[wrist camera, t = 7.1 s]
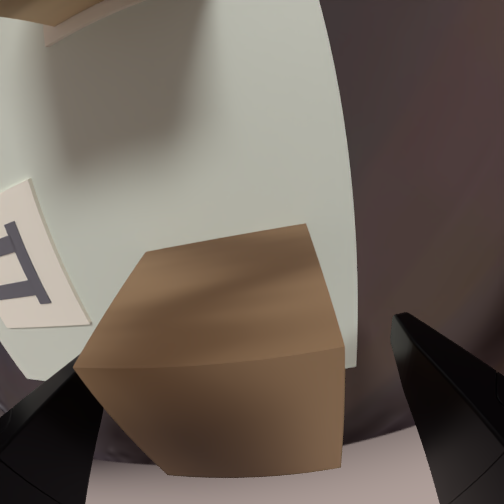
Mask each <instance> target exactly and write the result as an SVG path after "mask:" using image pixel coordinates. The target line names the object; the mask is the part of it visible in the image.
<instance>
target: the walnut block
mask: <svg viewBox="0 0 504 504" xmlns="http://www.w3.org/2000/svg"><path fill="white" fill-rule="evenodd" d="M73 369H74V370H75V371H76V373H77V374H78V376H79V377H80V378H81V380H82V381H83V382H84V384H85V385H86V386H87V388H88V389H89V390H90V391H91V393H92V394H93V395H94V397H95V398H96V399H97V400H98V402H99V403H100V404H101V405H102V406H103V408H104V409H105V410H106V411H107V412H108V414H109V415H110V416H111V417H112V418H113V419H114V421H115V422H116V423H117V424H118V425H119V426H120V427H121V429H122V430H123V431H124V432H125V433H126V434H127V435H128V436H129V437H130V438H131V439H132V440H133V441H134V443H135V444H136V445H137V446H138V447H139V448H140V449H141V450H142V451H143V452H144V453H145V454H146V455H147V456H148V457H149V458H150V459H151V460H152V461H153V462H154V463H155V464H157V465H158V466H159V467H160V468H161V469H162V470H163V471H164V472H165V473H166V474H167V475H173V476H187V477H209V478H239V477H240V478H242V477H243V478H244V477H266V476H280V475H291V474H300V473H308V472H315V471H322V470H328V469H334V468H340V467H341V456H342V443H343V425H344V399H345V345H344V341H343V338H342V334H341V331H340V328H339V324H338V321H337V317H336V314H335V311H334V307H333V304H332V301H331V298H330V294H329V291H328V288H327V285H326V282H325V279H324V276H323V272H322V269H321V266H320V263H319V260H318V257H317V254H316V251H315V248H314V245H313V242H312V239H311V236H310V233H309V231H308V228H307V225H306V223H304V224H298V225H292V226H286V227H280V228H275V229H269V230H263V231H257V232H251V233H246V234H240V235H234V236H229V237H223V238H217V239H212V240H206V241H201V242H195V243H190V244H184V245H179V246H174V247H168V248H163V249H158V250H152V251H147V252H145V253H144V255H143V256H142V258H141V259H140V261H139V262H138V264H137V265H136V267H135V268H134V269H133V271H132V272H131V274H130V275H129V277H128V278H127V280H126V281H125V283H124V284H123V286H122V287H121V289H120V290H119V292H118V294H117V295H116V297H115V298H114V300H113V301H112V303H111V304H110V306H109V308H108V309H107V311H106V312H105V314H104V315H103V317H102V319H101V320H100V322H99V324H98V325H97V327H96V328H95V330H94V332H93V333H92V335H91V337H90V338H89V340H88V342H87V343H86V345H85V347H84V349H83V350H82V352H81V354H80V355H79V357H78V359H77V361H76V362H75V364H74V366H73Z"/></svg>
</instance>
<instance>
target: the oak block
mask: <svg viewBox="0 0 504 504" xmlns="http://www.w3.org/2000/svg"><path fill="white" fill-rule="evenodd" d="M102 1H104V0H0V17H5V18H12V19H18V20H24V21H29V22H35V23H40V24H44V25H49V26H53V27H55V26H57V25H58V24H60V23H62V22H63V21H65V20H67V19H69V18H71V17H72V16H74V15H76V14H78V13H80V12H82V11H83V10H85V9H87V8H89V7H91V6H93V5H95V4H97V3H99V2H102Z"/></svg>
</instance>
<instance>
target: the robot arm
mask: <svg viewBox="0 0 504 504" xmlns="http://www.w3.org/2000/svg"><path fill="white" fill-rule="evenodd" d="M391 345H392V349H393V352H394V356H395V360H396V364H397V368H398V371H399V375H400V379H401V383H402V387H403V390H404V393H405V396H406V399H407V402H408V404H409V407H410V410H411V413H412V415H413V418H414V421H415V424H416V427H417V430H418V433H419V436H420V439H421V442H422V445H423V448H424V451H425V454H426V457H427V461H428V464H429V467H430V470H431V474H432V477H433V481H434V484H435V488H436V492H437V495H438V499H439V503H440V504H504V376H503V375H502V374H500V373H499V372H497V373H496V370H494V369H493V368H491V367H490V366H488V365H487V364H485V363H484V362H483V361H481V360H480V359H478V358H477V357H475V356H474V355H472V354H471V353H469V352H468V351H466V350H465V349H463V348H462V347H460V346H459V345H457V344H456V343H454V342H453V341H451V340H450V339H448V338H447V337H445V336H444V335H442V334H440V333H439V332H437V331H436V330H434V329H433V328H431V327H430V326H428V325H427V324H425V323H424V322H422V321H420V320H419V319H417V318H416V317H414V316H413V315H411V314H410V313H407V312H404V313H400V314H396V315H394V316H393V319H392V327H391ZM79 355H80V354H79ZM79 355H78V356H77V357H76V358H74V359H73V360H72V361H70V362H69V363H68V364H67V365H65V366H64V367H63V368H62V369H60V370H59V371H58V372H56V373H55V374H54V375H53V376H51V377H50V378H49V379H48V380H46V381H45V382H44V383H43V384H41V385H40V386H39V387H38V388H36V389H35V390H34V391H33V392H31V393H30V394H29V395H28V396H26V397H25V398H24V399H23V400H21V401H20V402H19V403H18V404H16V405H15V406H14V407H13V408H11V409H10V410H9V411H8V412H6V413H5V414H4V415H3V416H1V417H0V504H85V502H86V495H87V488H88V483H89V477H90V471H91V466H92V461H93V456H94V451H95V446H96V441H97V437H98V432H99V428H100V423H101V419H102V414H103V409H104V408H103V406H102V405H101V404H100V403H99V402H98V400H97V399H96V398H95V397H94V395H93V394H92V393H91V391H90V390H89V389H88V388H87V386H86V385H85V384H84V382H83V381H82V380H81V378H80V377H79V376H78V374H77V373H76V371H75V370H74V369H73V366H74V364H75V362H76V361H77V359H78V357H79Z"/></svg>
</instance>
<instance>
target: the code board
mask: <svg viewBox="0 0 504 504" xmlns="http://www.w3.org/2000/svg"><path fill="white" fill-rule="evenodd" d="M304 223H306V225H307V228H308V231H309V233H310V236H311V239H312V242H313V245H314V248H315V251H316V254H317V257H318V260H319V263H320V266H321V269H322V272H323V276H324V279H325V282H326V285H327V288H328V291H329V294H330V298H331V301H332V304H333V307H334V311H335V314H336V317H337V321H338V324H339V328H340V331H341V334H342V338H343V341H344V345H345V369H346V368H351V367H356V359H357V323H358V291H357V254H356V234H355V218H354V205H353V193H352V182H351V173H350V163H349V155H348V147H347V139H346V132H345V125H344V118H343V112H342V106H341V100H340V94H339V88H338V83H337V77H336V72H335V67H334V62H333V57H332V53H331V48H330V43H329V39H328V35H327V31H326V26H325V22H324V18H323V14H322V11H321V7H320V3H319V0H104V1H102V2H99V3H97V4H95V5H93V6H91V7H89V8H87V9H85V10H83V11H82V12H80V13H78V14H76V15H74V16H72V17H71V18H69V19H67V20H65V21H63V22H62V23H60V24H58V25H57V26H55V27H53V26H49V25H44V24H40V23H35V22H29V21H24V20H18V19H12V18H5V17H0V341H1V343H2V344H3V346H4V347H5V349H6V350H7V352H8V353H9V355H10V356H11V358H12V359H13V360H14V362H15V363H16V365H17V366H18V367H19V369H20V370H21V371H22V373H23V374H24V375H25V377H26V378H27V379H35V380H42V381H46V380H48V379H49V378H50V377H51V376H53V375H54V374H55V373H56V372H58V371H59V370H60V369H62V368H63V367H64V366H65V365H67V364H68V363H69V362H70V361H72V360H73V359H74V358H76V357H77V356H78V355H79V354H81V352H82V350H83V349H84V347H85V345H86V343H87V342H88V340H89V338H90V337H91V335H92V333H93V332H94V330H95V328H96V327H97V325H98V324H99V322H100V320H101V319H102V317H103V315H104V314H105V312H106V311H107V309H108V308H109V306H110V304H111V303H112V301H113V300H114V298H115V297H116V295H117V294H118V292H119V290H120V289H121V287H122V286H123V284H124V283H125V281H126V280H127V278H128V277H129V275H130V274H131V272H132V271H133V269H134V268H135V267H136V265H137V264H138V262H139V261H140V259H141V258H142V256H143V255H144V253H145V252H147V251H152V250H158V249H163V248H168V247H174V246H179V245H184V244H190V243H195V242H201V241H206V240H212V239H217V238H223V237H229V236H234V235H240V234H246V233H251V232H257V231H263V230H269V229H275V228H280V227H286V226H292V225H298V224H304Z"/></svg>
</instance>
